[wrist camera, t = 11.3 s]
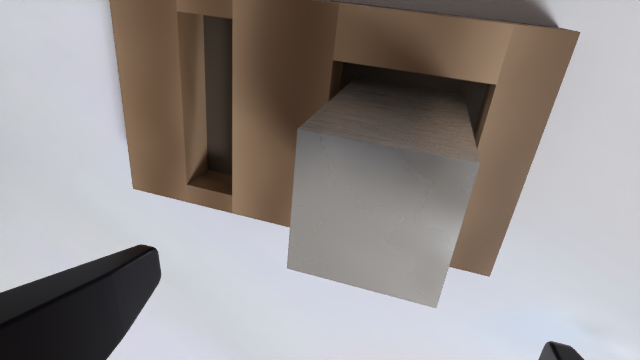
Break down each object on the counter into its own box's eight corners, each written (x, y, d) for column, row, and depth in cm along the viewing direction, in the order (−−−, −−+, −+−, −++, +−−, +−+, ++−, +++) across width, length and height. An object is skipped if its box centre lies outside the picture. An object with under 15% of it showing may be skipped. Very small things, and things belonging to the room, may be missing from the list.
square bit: (344, 170, 19) (287, 268, 12) (356, 76, 17) (297, 128, 10) (438, 189, 18) (436, 308, 11) (463, 92, 16) (480, 163, 9)
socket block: (162, 170, 23) (133, 188, 21) (146, -21, 18) (106, -25, 16) (483, 245, 19) (489, 276, 17) (559, 27, 15) (580, 32, 12)
